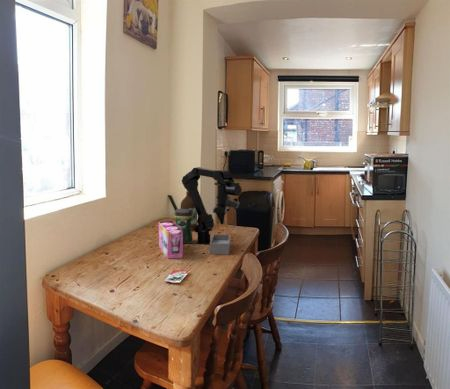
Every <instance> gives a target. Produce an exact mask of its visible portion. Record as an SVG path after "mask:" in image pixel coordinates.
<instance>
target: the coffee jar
mask: <svg viewBox="0 0 450 389" xmlns="http://www.w3.org/2000/svg"><path fill="white" fill-rule="evenodd" d="M174 219H175V224H176V225H177V226H178V227H180V228H181V229H182V232H183V244H190V243H192V242H193V231H192V230H191V219H192V210H191V209H181V208H177V209H175V211H174Z"/></svg>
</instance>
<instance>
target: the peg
mask: <svg viewBox="0 0 450 389" xmlns="http://www.w3.org/2000/svg"><path fill="white" fill-rule="evenodd" d="M227 227H228V212H227V213H226V214H225V216H224V222H223V224H221V223H220V221H219V220H218V229H221V230H222V229H223V230H226V229H227Z"/></svg>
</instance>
